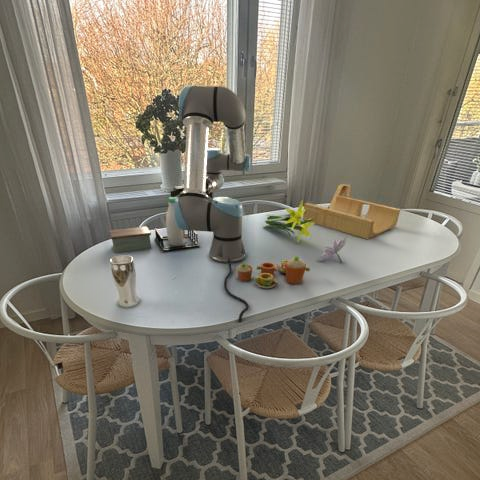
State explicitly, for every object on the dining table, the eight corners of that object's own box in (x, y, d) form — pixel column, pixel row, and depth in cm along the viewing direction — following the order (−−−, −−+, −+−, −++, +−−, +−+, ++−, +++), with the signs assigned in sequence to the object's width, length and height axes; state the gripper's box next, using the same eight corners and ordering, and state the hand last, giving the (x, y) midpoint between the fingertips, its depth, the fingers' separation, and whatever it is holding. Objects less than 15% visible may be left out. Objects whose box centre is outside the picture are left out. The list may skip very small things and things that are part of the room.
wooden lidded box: (152, 248, 150) (150, 232, 146) (114, 253, 144) (111, 237, 140) (148, 241, 156) (146, 226, 152) (112, 246, 151) (108, 230, 147)
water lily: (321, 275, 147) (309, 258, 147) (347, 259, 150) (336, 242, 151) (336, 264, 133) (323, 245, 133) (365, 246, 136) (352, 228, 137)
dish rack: (199, 247, 152) (198, 235, 149) (163, 252, 147) (162, 239, 144) (188, 235, 165) (187, 223, 162) (155, 239, 160) (153, 227, 156)
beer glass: (120, 297, 114) (112, 254, 106) (141, 296, 114) (135, 254, 106) (115, 308, 108) (106, 264, 100) (138, 307, 109) (131, 264, 100)
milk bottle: (182, 247, 152) (178, 200, 141) (165, 245, 153) (160, 199, 142) (187, 241, 158) (184, 196, 147) (171, 239, 160) (167, 195, 149)
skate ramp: (302, 221, 190) (305, 191, 181) (338, 208, 210) (343, 180, 201) (367, 241, 166) (374, 207, 157) (401, 224, 186) (409, 194, 177)
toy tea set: (291, 266, 138) (294, 243, 133) (312, 282, 126) (316, 258, 121) (231, 275, 129) (231, 251, 124) (247, 294, 117) (248, 268, 112)
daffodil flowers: (285, 225, 184) (331, 226, 154) (266, 243, 181) (309, 248, 151) (268, 199, 175) (314, 195, 145) (249, 218, 172) (291, 217, 143)
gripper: (228, 197, 168) (210, 208, 152) (183, 191, 176) (161, 201, 159) (228, 180, 164) (209, 190, 148) (182, 175, 171) (159, 184, 155)
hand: (184, 196), depth 153 cm, fingers open, 13 cm apart
